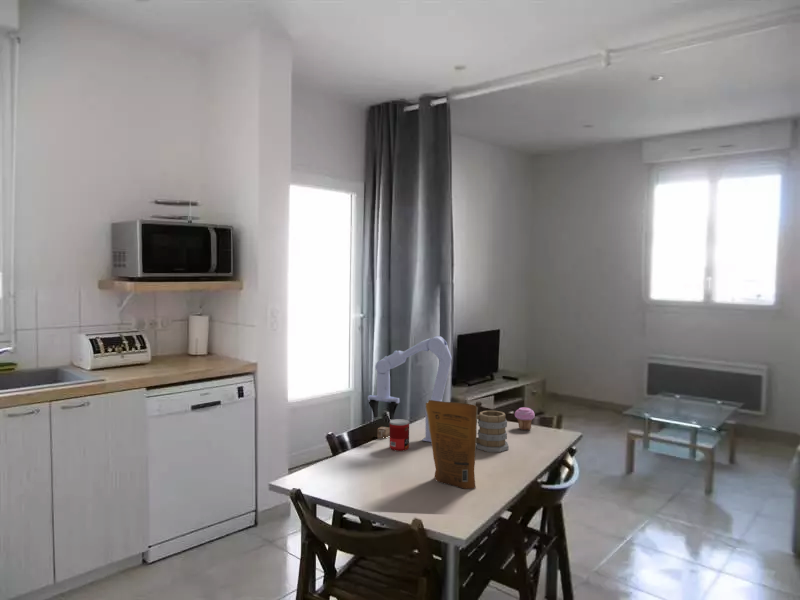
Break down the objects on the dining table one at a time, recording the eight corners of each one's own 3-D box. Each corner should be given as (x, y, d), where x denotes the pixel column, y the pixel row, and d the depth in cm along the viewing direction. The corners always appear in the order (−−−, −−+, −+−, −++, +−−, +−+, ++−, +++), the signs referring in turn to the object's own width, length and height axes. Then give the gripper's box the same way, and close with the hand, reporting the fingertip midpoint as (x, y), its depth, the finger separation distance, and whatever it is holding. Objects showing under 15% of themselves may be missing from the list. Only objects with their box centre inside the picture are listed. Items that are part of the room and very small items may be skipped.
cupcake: (516, 431, 251) (516, 409, 250) (513, 426, 259) (513, 405, 259) (536, 431, 250) (536, 409, 250) (532, 426, 259) (532, 405, 259)
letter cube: (389, 436, 243) (389, 427, 243) (385, 439, 239) (385, 429, 239) (381, 435, 244) (381, 426, 244) (377, 437, 241) (377, 428, 241)
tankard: (506, 443, 232) (506, 407, 232) (509, 452, 220) (509, 415, 219) (458, 442, 234) (458, 406, 234) (458, 451, 222) (458, 413, 221)
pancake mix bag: (472, 493, 178) (472, 406, 177) (423, 480, 190) (424, 398, 188) (482, 487, 183) (483, 403, 182) (435, 474, 195) (435, 395, 194)
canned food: (408, 451, 222) (408, 423, 221) (388, 451, 222) (388, 423, 222) (409, 445, 229) (409, 419, 229) (390, 445, 230) (390, 418, 229)
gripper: (364, 387, 240) (364, 418, 241) (394, 389, 234) (394, 421, 235) (372, 384, 247) (372, 414, 247) (401, 386, 241) (401, 418, 241)
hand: (383, 418), depth 241 cm, fingers open, 7 cm apart
